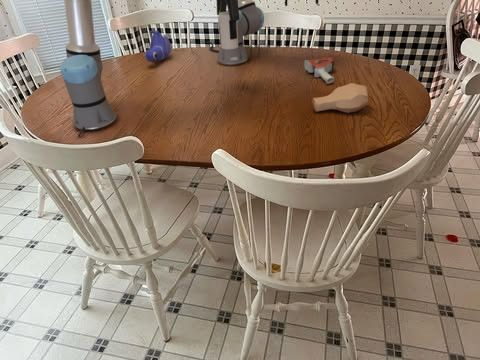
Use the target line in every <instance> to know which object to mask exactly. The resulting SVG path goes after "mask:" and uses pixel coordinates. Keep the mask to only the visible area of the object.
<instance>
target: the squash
mask: <svg viewBox="0 0 480 360" xmlns="http://www.w3.org/2000/svg"><path fill="white" fill-rule="evenodd" d="M368 102H369V92H368V88H367V86H365V85H363V84H357V83H354V82H353V83H352V82H350V83H348V84H345V85H342V86H337V87H336V88H335V89H334V90H333V91H332V92H331V93H330V94H328V95H324V96H320V97H319V96H318V97H313V98H312V105H313V108H314V111H315V112H321V111H326V110H337V111H339V112H343V113H355V112H359V111H360V110H362V109H363V108H365V107H366V106H367V104H368Z"/></svg>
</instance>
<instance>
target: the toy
mask: <svg viewBox="0 0 480 360" xmlns="http://www.w3.org/2000/svg"><path fill="white" fill-rule="evenodd" d="M149 33H151V34H152V36H151V38H150V43H149V44H150V45H149V48H148V49H145V52H144V58H145V59H146V60H147V61H148V62H150V63H151V65H152V67H155V62H160V61H162V60H166V59H167V58H168V57H169V55H170V54H171V52H172V46H171V42H170V39H169V38H168V37H167V35H165V34H162V33H161V32H160V31H159V30H150V31H149Z"/></svg>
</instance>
